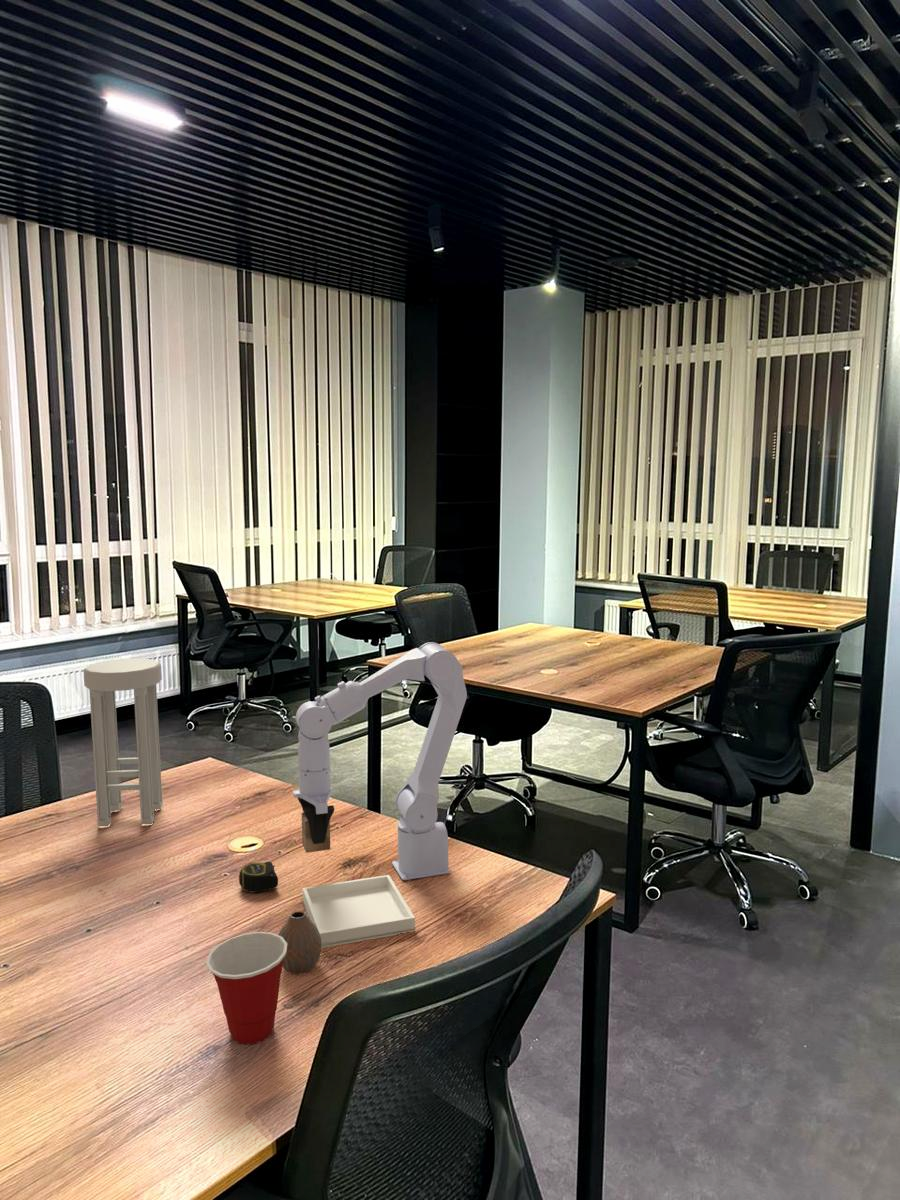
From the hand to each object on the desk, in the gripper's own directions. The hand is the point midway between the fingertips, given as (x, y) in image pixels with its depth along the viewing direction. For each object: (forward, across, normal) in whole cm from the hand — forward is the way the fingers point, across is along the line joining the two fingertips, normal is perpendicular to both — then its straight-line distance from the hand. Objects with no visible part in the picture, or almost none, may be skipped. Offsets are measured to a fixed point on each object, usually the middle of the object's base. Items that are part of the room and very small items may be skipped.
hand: (316, 837), depth 165 cm
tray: (+9, +15, +4) cm, 18 cm away
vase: (+9, +28, -8) cm, 31 cm away
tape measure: (+9, -2, -10) cm, 14 cm away
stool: (+9, -46, -34) cm, 58 cm away
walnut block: (+2, 0, 0) cm, 2 cm away
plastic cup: (+9, +42, -16) cm, 46 cm away
